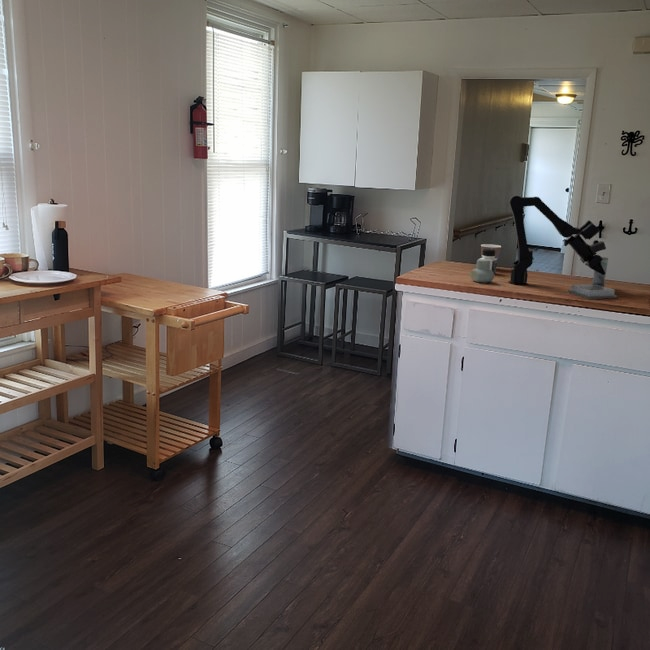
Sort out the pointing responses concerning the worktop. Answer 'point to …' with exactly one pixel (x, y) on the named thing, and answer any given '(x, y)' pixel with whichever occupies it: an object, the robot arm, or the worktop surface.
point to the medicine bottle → (490, 258)
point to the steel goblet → (598, 277)
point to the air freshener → (482, 272)
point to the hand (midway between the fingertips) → (603, 273)
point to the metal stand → (592, 291)
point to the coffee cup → (490, 246)
